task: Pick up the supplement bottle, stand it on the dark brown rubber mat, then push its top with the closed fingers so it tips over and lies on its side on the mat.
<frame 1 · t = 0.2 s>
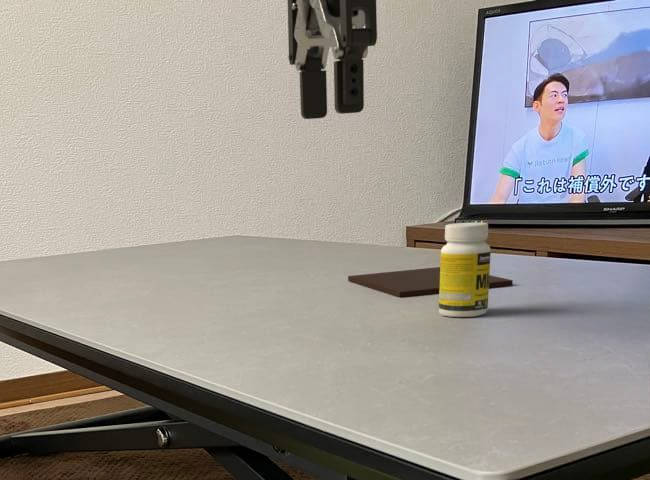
hand: (330, 115, 76), 18 cm above the table, tool pointing down, fingers open, 8 cm apart
mat: (426, 283, 109), on the table
supplement bottle: (463, 315, 89), on the table
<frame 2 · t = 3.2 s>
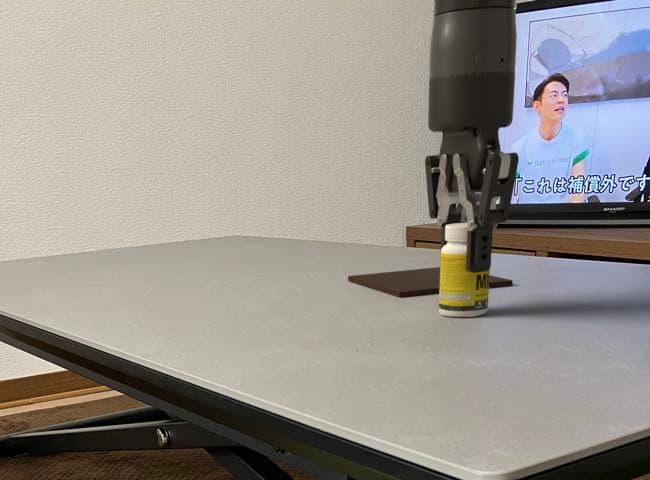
hand: (464, 267, 87), 4 cm above the table, tool pointing down, fingers closed on supplement bottle, 4 cm apart
supplement bottle: (463, 315, 89), on the table, touching gripper
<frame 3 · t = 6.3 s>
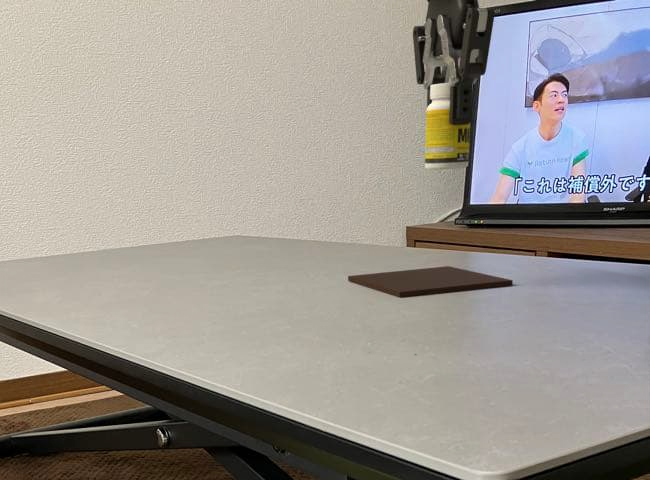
hand: (448, 125, 98), 17 cm above the table, tool pointing down, fingers closed on supplement bottle, 4 cm apart
supplement bottle: (446, 170, 99), point 13 cm above the table, touching gripper
when the fingers open (5 cm above the table, at t = 9.5 s): supplement bottle stays where it is, resting on mat.
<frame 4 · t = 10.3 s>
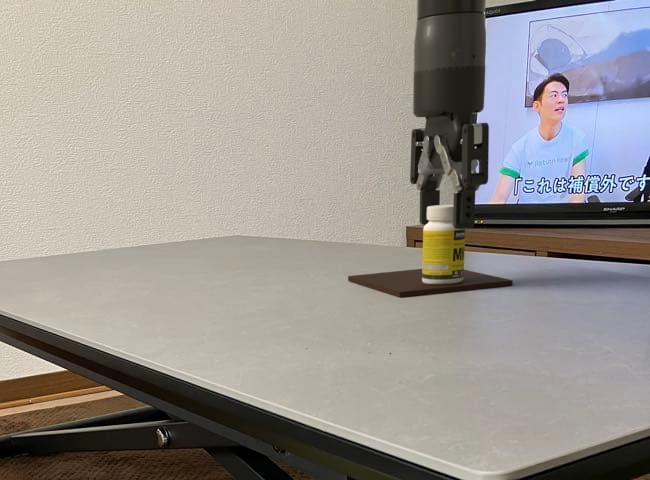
hand: (445, 226, 102), 7 cm above the table, tool pointing down, fingers open, 8 cm apart
supplement bottle: (442, 284, 105), resting on mat
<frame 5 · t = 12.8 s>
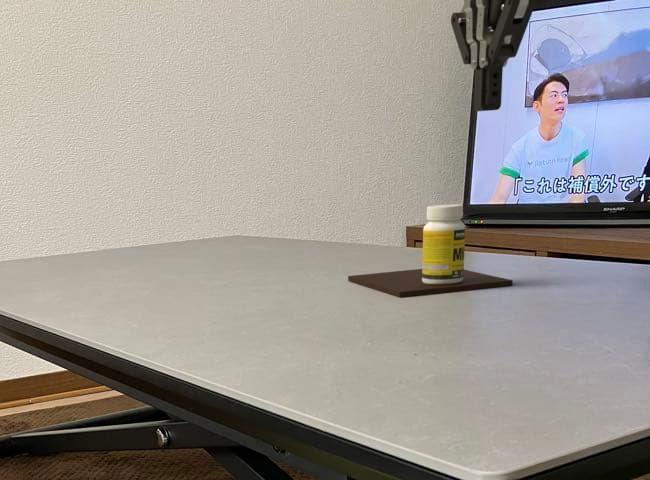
hand: (487, 110, 91), 18 cm above the table, tool pointing down, fingers closed
nothing on the table moved.
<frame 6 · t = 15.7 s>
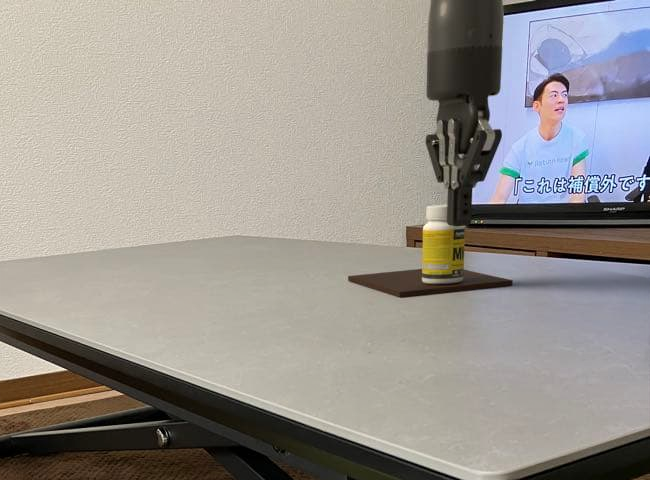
hand: (458, 225, 99), 7 cm above the table, tool pointing down, fingers closed
supplement bottle: (442, 283, 105), resting on mat, touching gripper
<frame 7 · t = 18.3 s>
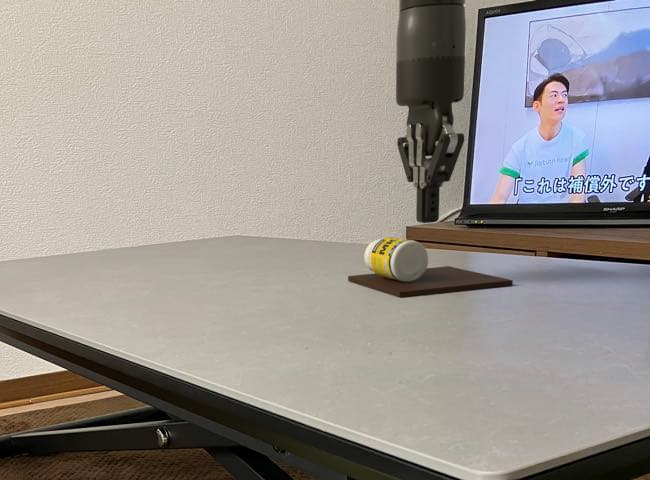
hand: (427, 222, 106), 7 cm above the table, tool pointing down, fingers closed
supplement bottle: (412, 261, 105), point 3 cm above the table, touching mat
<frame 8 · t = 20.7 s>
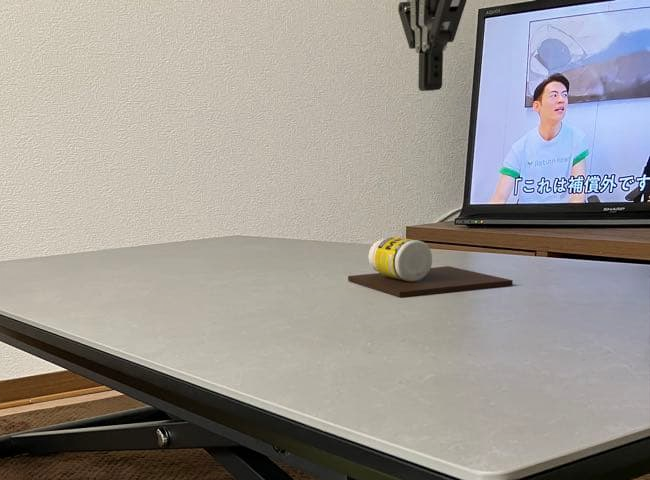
hand: (430, 90, 101), 21 cm above the table, tool pointing down, fingers closed
nothing on the table moved.
at the end: supplement bottle tilted 90°; supplement bottle inside the target area on the mat (3.6 cm from its centre), point 3.0 cm above the mat's base; the gripper is holding nothing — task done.
